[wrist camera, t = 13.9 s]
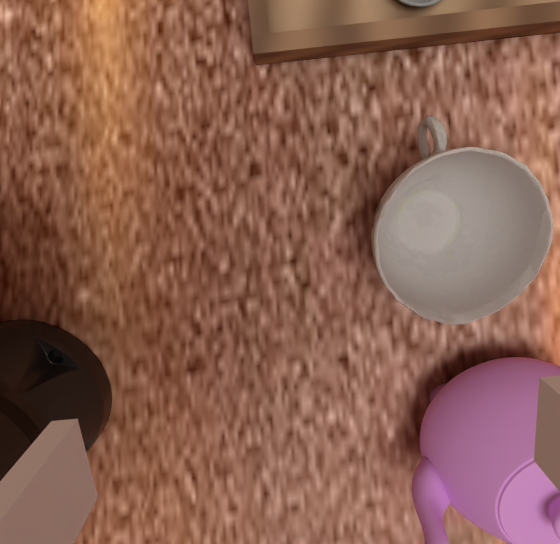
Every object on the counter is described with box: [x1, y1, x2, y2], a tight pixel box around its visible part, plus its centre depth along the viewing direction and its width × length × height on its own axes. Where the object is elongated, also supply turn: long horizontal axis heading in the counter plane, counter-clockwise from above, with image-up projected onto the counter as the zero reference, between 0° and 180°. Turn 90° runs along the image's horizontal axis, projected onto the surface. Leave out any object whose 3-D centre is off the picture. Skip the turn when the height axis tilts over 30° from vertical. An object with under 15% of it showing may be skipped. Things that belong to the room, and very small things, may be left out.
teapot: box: [412, 357, 560, 544], centre depth 36 cm, size 22×16×14 cm
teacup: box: [371, 116, 553, 325], centre depth 33 cm, size 15×12×8 cm
